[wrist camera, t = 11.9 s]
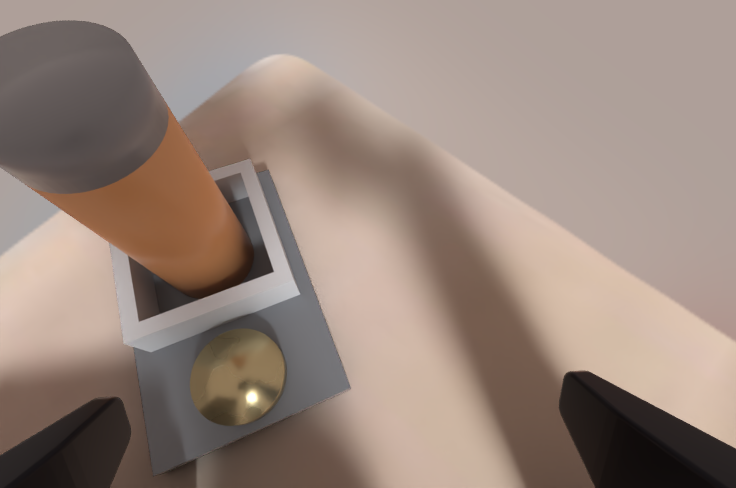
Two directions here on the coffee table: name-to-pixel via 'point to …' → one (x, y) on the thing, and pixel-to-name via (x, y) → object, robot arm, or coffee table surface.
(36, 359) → the coffee table surface
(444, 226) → the coffee table surface
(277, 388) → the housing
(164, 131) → the peg
